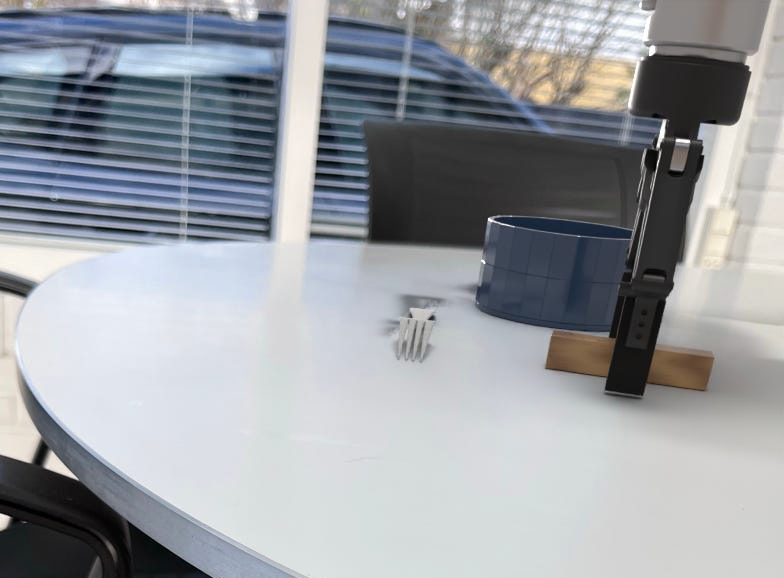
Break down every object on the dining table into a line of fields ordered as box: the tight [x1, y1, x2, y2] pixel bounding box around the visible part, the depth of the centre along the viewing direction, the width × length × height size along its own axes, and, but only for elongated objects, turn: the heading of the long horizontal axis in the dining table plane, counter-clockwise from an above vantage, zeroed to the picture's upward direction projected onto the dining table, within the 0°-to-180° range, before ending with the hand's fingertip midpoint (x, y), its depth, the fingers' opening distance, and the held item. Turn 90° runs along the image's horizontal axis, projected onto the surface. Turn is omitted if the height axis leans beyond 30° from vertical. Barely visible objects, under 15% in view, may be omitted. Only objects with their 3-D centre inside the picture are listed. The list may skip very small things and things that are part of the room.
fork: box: [397, 307, 437, 363], centre depth 89 cm, size 3×21×3 cm, turn 171°
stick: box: [544, 329, 716, 391], centre depth 81 cm, size 12×2×2 cm, turn 75°
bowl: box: [474, 215, 633, 332], centre depth 102 cm, size 15×15×8 cm
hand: (622, 373), depth 81 cm, fingers open, 13 cm apart
